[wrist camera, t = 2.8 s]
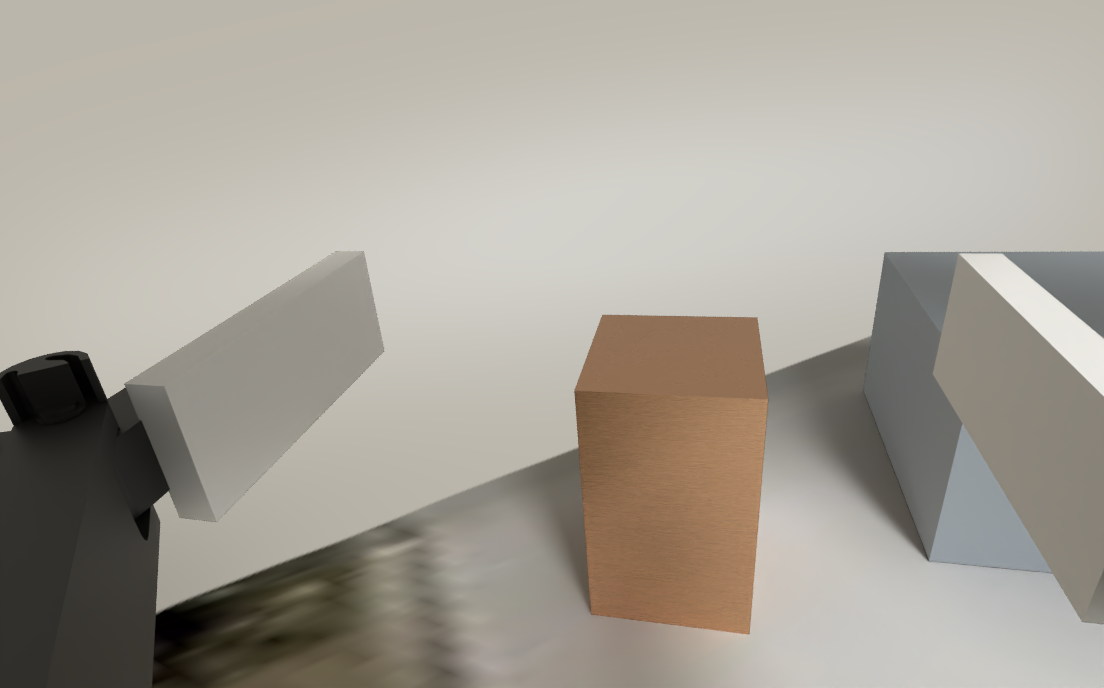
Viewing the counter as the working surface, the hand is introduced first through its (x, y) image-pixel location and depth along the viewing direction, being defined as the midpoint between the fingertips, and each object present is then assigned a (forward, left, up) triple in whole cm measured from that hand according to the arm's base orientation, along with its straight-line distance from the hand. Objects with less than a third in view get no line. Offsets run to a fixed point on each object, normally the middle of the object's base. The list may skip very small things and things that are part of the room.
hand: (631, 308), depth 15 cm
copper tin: (0, -11, -19) cm, 21 cm away
